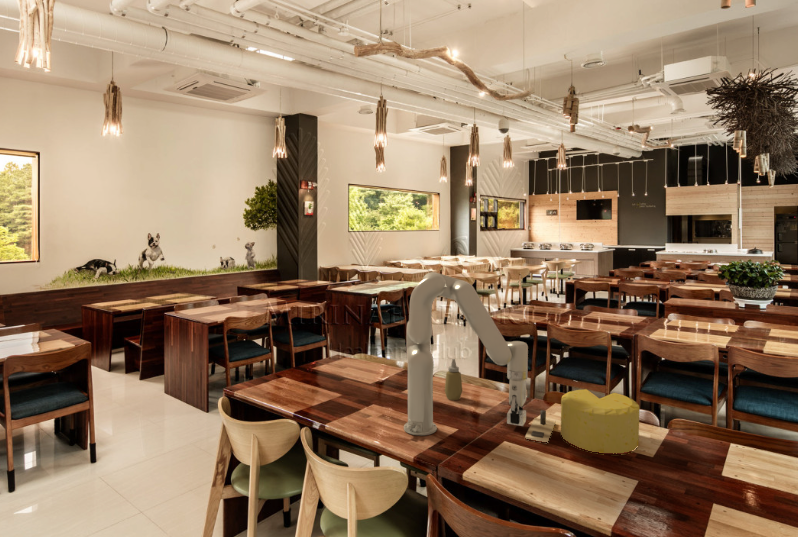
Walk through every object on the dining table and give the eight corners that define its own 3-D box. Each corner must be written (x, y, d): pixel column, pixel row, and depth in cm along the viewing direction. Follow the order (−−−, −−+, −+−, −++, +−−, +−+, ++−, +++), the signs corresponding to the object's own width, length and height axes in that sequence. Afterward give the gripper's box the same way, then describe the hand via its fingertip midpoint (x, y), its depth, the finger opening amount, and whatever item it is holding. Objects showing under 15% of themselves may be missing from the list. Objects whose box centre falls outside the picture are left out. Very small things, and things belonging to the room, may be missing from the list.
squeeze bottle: (463, 401, 217) (463, 361, 215) (445, 401, 217) (445, 361, 216) (461, 395, 225) (461, 357, 224) (443, 395, 225) (444, 357, 224)
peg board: (547, 443, 172) (548, 426, 172) (524, 439, 176) (525, 422, 175) (555, 424, 190) (555, 408, 190) (534, 420, 194) (534, 405, 193)
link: (522, 426, 183) (523, 415, 182) (507, 423, 185) (507, 413, 185) (526, 420, 188) (526, 410, 188) (510, 418, 191) (510, 408, 190)
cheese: (599, 421, 193) (600, 384, 192) (655, 447, 169) (657, 405, 168) (545, 431, 184) (546, 392, 183) (596, 460, 160) (597, 415, 159)
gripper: (522, 381, 176) (522, 430, 177) (531, 369, 192) (530, 414, 193) (502, 379, 179) (501, 426, 180) (512, 367, 195) (511, 411, 196)
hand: (516, 420), depth 187 cm, fingers closed on link, 6 cm apart
